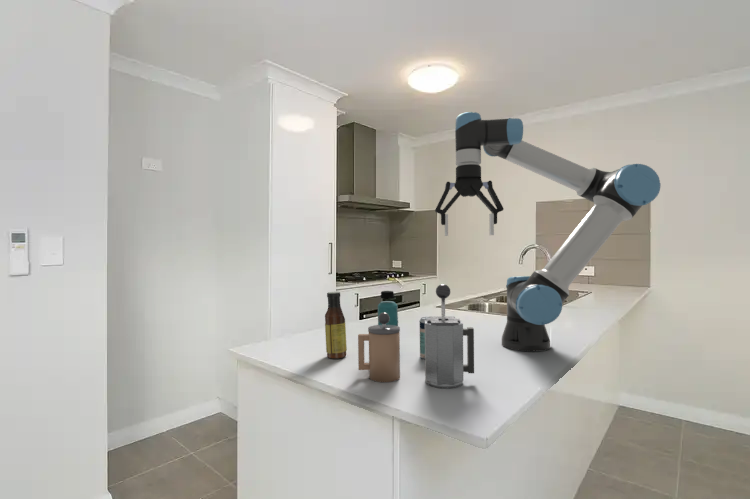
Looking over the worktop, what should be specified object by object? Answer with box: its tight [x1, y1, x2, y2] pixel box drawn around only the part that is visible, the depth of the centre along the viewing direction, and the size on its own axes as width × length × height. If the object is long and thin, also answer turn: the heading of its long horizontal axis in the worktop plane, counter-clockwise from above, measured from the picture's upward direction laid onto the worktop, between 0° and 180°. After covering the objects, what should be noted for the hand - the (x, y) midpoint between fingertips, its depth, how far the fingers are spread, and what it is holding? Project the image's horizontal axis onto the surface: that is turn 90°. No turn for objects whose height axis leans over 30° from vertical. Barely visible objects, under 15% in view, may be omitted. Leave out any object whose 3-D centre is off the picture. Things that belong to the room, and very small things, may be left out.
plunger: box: [435, 283, 451, 320], centre depth 100 cm, size 6×6×20 cm
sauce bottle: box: [324, 291, 348, 360], centre depth 124 cm, size 6×6×20 cm
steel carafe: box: [424, 316, 475, 390], centre depth 100 cm, size 12×9×16 cm
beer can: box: [419, 316, 431, 360], centre depth 121 cm, size 5×5×12 cm
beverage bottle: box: [377, 290, 399, 327], centre depth 124 cm, size 6×7×20 cm
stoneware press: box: [357, 312, 401, 383], centre depth 104 cm, size 11×8×17 cm
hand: (468, 235), depth 123 cm, fingers open, 13 cm apart
